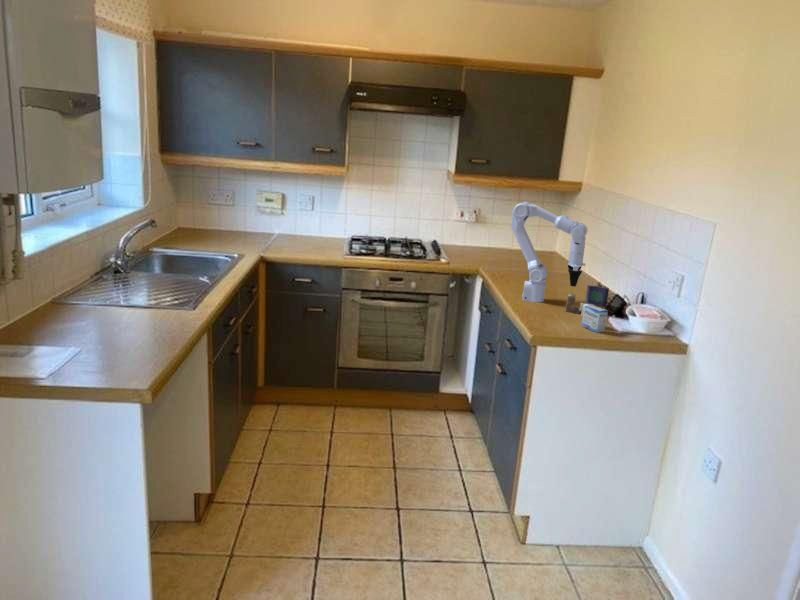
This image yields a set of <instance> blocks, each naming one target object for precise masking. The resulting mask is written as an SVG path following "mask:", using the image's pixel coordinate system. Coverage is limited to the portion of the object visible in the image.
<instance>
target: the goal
mask: <svg viewBox="0 0 800 600" xmlns="http://www.w3.org/2000/svg"><path fill="white" fill-rule="evenodd" d="M584 304H585V302H584V303H583V302H580V306H579V311H581V314H580V315H581V317H583V313H584V309H582V310H581V307H582V306H583V305H584ZM587 304H588V305H594V304H589V303H587Z"/></svg>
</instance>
